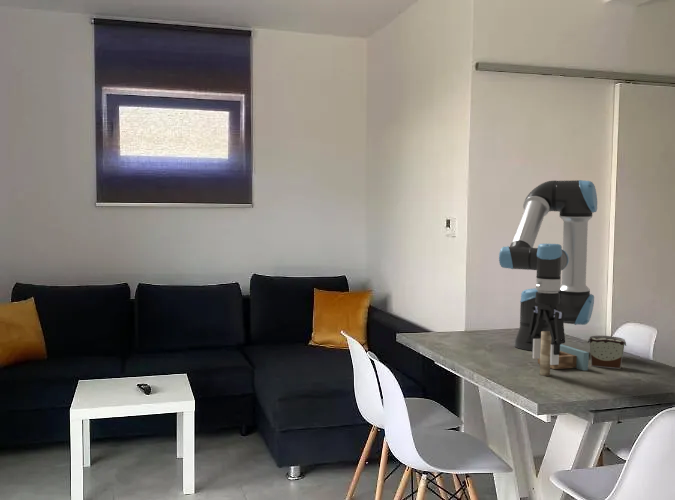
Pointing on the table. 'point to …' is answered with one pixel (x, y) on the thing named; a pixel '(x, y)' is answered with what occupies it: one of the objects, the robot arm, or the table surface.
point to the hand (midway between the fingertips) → (545, 361)
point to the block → (564, 361)
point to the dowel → (545, 353)
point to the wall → (581, 356)
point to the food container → (606, 351)
